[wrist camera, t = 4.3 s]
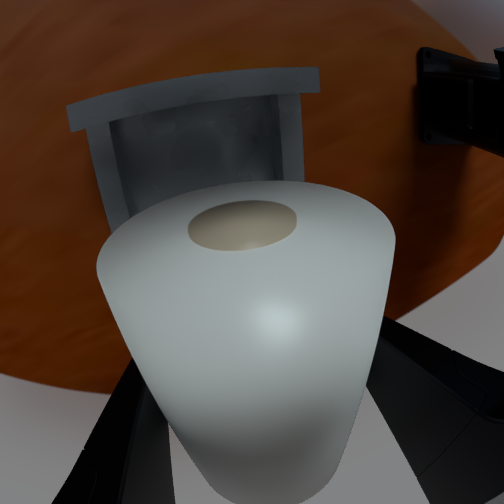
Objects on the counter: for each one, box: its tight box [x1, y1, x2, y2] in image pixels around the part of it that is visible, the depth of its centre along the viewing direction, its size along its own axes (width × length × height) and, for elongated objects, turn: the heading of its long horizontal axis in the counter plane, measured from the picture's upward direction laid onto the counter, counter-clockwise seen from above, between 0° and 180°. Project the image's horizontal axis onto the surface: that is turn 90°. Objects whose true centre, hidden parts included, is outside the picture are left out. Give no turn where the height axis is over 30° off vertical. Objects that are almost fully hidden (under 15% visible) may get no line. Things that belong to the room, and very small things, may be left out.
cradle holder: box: [66, 67, 320, 233], centre depth 15 cm, size 9×14×4 cm, turn 6°
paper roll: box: [97, 181, 395, 504], centre depth 8 cm, size 9×6×6 cm, turn 5°
